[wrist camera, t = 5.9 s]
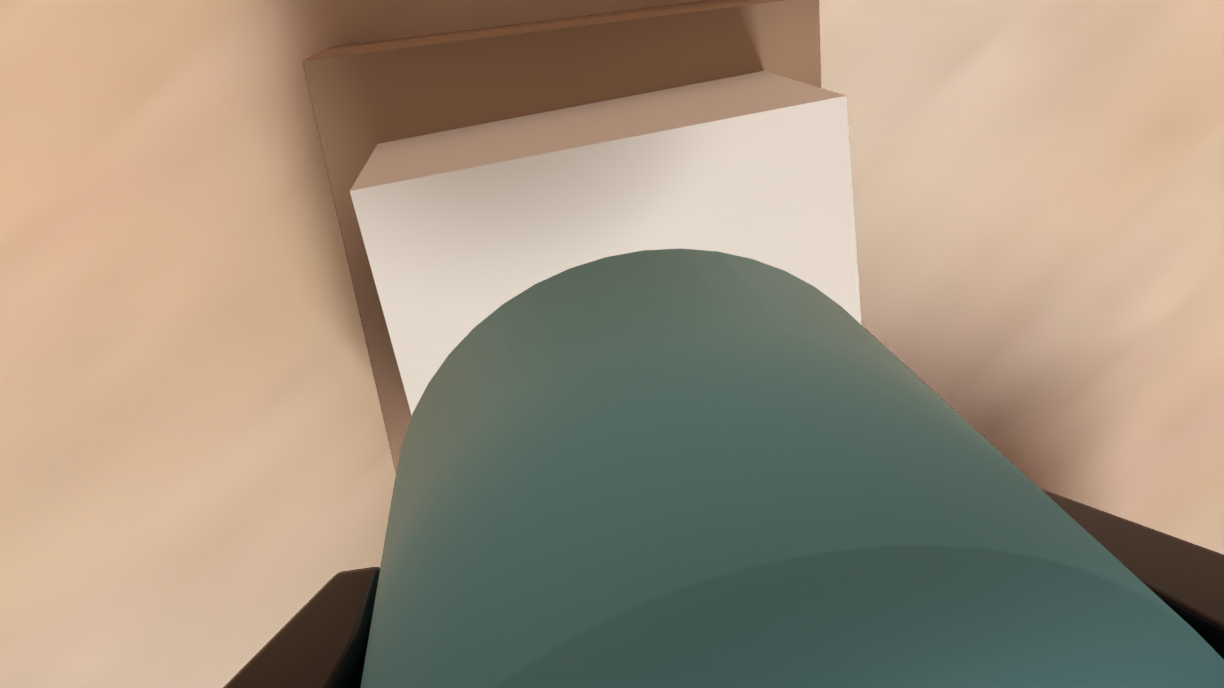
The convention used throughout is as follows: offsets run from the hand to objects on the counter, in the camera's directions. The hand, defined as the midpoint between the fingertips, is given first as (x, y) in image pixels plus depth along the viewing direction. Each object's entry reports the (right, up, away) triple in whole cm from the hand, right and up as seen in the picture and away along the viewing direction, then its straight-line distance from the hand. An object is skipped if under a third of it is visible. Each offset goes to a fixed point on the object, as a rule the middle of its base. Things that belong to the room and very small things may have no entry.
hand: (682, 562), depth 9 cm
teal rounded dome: (0, 0, +1) cm, 1 cm away
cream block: (-1, +3, +9) cm, 10 cm away
